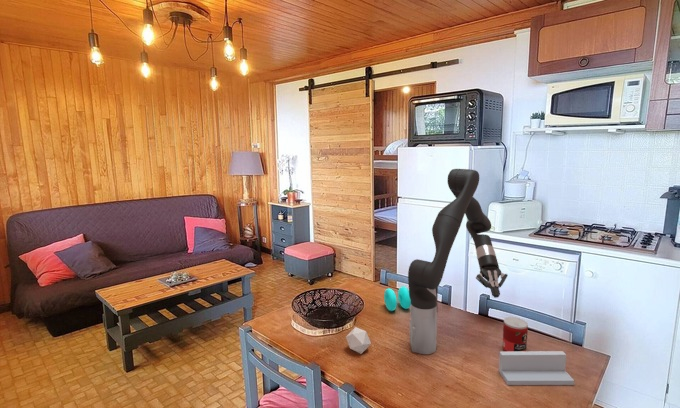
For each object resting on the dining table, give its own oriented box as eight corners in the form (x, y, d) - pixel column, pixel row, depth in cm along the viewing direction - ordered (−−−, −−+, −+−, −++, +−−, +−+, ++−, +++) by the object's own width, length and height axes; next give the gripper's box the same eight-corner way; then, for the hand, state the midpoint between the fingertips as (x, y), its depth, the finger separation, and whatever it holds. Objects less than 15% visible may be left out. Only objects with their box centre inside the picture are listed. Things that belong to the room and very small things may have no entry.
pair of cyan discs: (383, 305, 169) (383, 285, 168) (403, 302, 172) (403, 282, 170) (391, 315, 160) (391, 293, 158) (412, 312, 162) (412, 291, 160)
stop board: (507, 385, 112) (508, 364, 111) (498, 371, 119) (499, 351, 118) (574, 385, 111) (575, 364, 110) (561, 370, 118) (562, 351, 117)
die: (375, 351, 134) (369, 324, 138) (368, 351, 126) (361, 323, 131) (355, 356, 136) (349, 330, 140) (346, 356, 129) (341, 329, 133)
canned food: (517, 359, 125) (518, 329, 123) (497, 348, 132) (498, 319, 130) (531, 352, 128) (533, 323, 127) (511, 342, 135) (512, 314, 134)
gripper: (473, 254, 152) (482, 293, 142) (505, 253, 152) (516, 293, 142) (469, 262, 159) (477, 300, 149) (499, 261, 158) (510, 300, 148)
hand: (496, 296), depth 145 cm, fingers closed
